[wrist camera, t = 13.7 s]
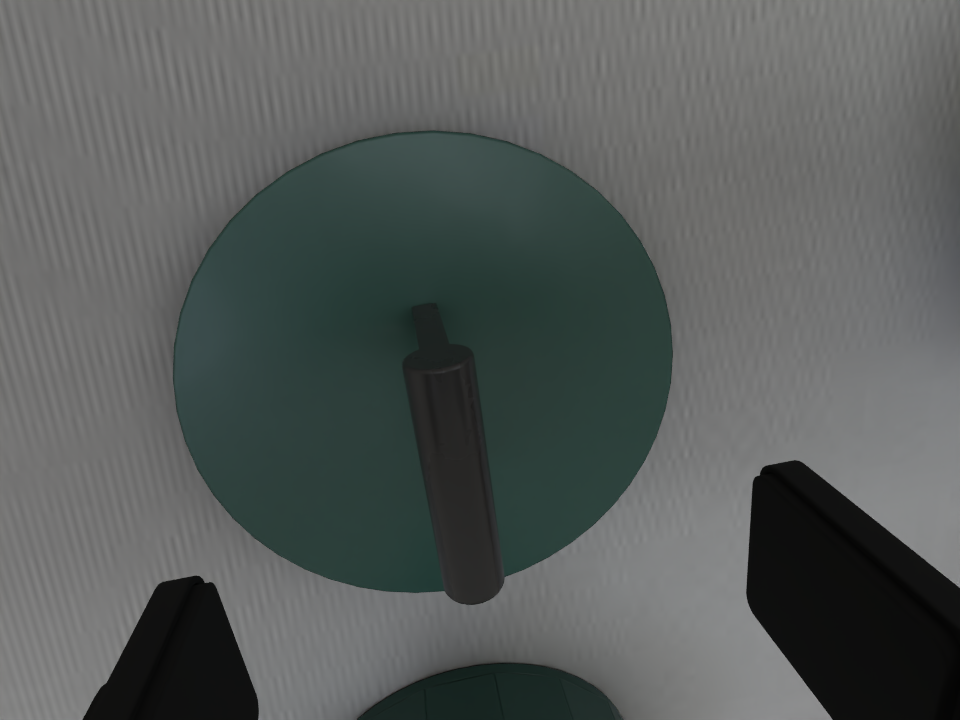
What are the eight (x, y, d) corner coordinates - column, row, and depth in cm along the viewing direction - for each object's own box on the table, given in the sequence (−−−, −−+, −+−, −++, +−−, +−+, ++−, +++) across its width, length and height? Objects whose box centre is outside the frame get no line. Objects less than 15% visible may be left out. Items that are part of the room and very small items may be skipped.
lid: (260, 607, 20) (210, 801, 15) (109, 170, 15) (-69, 196, 9) (658, 523, 22) (762, 668, 16) (654, 98, 16) (808, 78, 10)
